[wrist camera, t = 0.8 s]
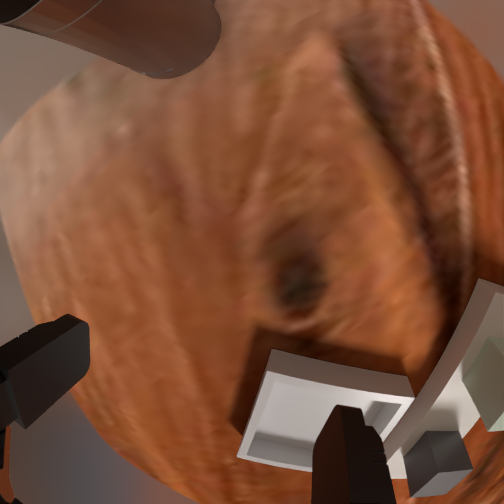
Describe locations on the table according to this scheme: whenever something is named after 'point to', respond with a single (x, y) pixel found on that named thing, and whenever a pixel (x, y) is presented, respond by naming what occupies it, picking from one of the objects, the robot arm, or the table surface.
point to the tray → (315, 406)
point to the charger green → (488, 383)
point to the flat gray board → (449, 379)
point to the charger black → (436, 463)
